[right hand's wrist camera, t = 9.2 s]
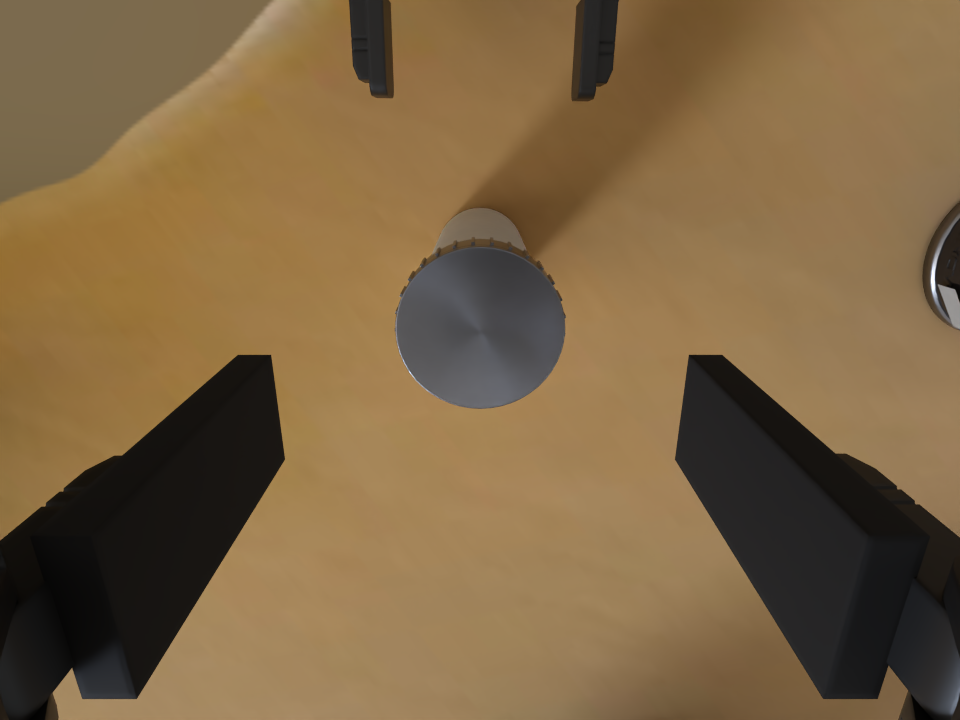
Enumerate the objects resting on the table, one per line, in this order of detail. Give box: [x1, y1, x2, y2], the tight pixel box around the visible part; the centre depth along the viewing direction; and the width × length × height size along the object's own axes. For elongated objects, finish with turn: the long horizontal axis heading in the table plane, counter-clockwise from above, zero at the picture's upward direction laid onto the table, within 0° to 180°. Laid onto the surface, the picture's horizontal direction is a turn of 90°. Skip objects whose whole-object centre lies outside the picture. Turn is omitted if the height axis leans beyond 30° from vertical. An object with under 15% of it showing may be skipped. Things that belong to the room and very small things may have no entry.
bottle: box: [432, 208, 527, 254], centre depth 27 cm, size 5×5×15 cm
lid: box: [395, 237, 566, 409], centre depth 20 cm, size 6×6×2 cm
